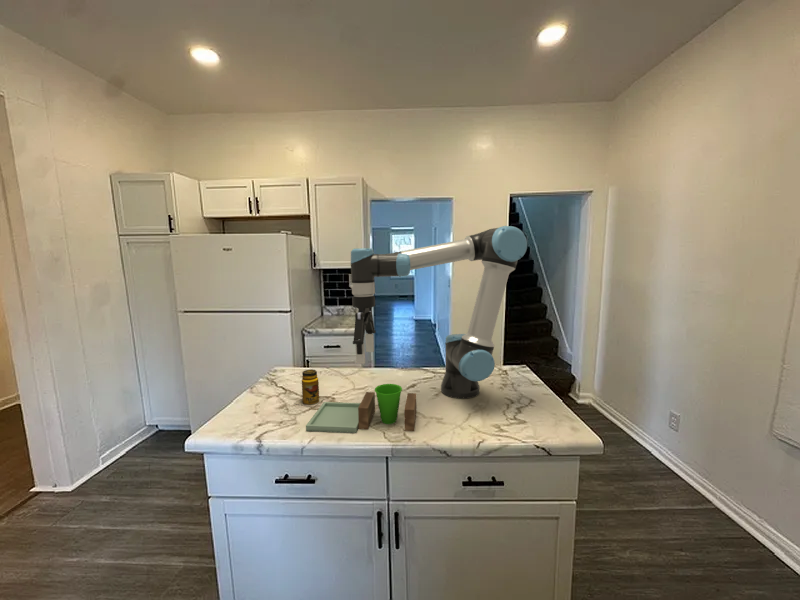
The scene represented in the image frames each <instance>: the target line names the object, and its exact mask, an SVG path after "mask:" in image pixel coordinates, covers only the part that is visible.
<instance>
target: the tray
mask: <svg viewBox="0 0 800 600" xmlns="http://www.w3.org/2000/svg"><path fill="white" fill-rule="evenodd" d="M360 403H361V402H338V401H336V402H335V401H334V402H333V401H323V402H322V404H321V405H320V406H319V407H318V409H317V410H316V412H314V414H313V415H312V417H311V418H310V419H309V421H308V422H307V424H306V425H305V432H315V433H316V432H319V433H344V434H345V433H346V434H351V433H352V434H357V433H358V430H359V420H358V407H359V405H360Z"/></svg>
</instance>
